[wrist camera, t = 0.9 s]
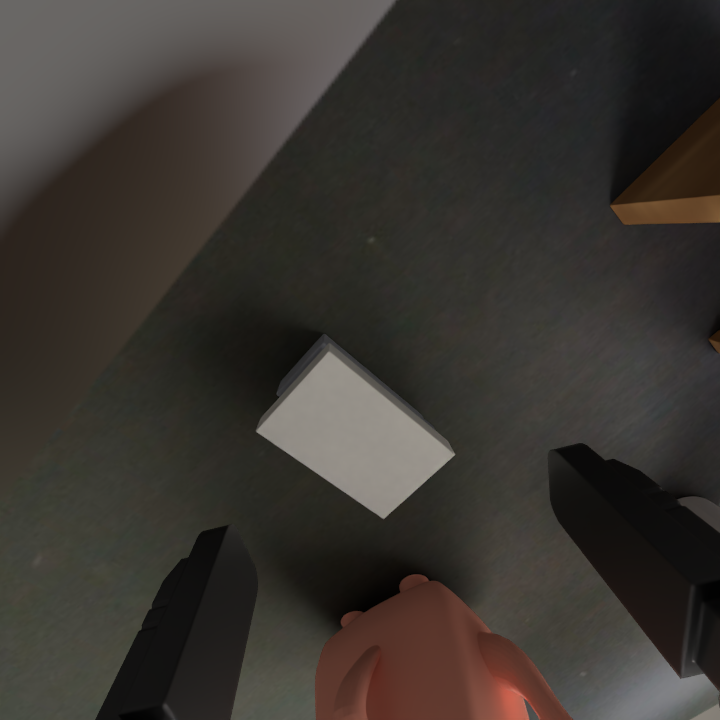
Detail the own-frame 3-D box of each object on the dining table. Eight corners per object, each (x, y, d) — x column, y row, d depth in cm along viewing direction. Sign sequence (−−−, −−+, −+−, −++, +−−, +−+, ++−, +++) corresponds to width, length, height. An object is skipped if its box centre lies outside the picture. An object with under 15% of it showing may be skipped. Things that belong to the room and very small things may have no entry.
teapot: (315, 678, 34) (304, 936, 21) (322, 554, 28) (313, 801, 16) (484, 673, 35) (564, 911, 23) (520, 554, 30) (651, 780, 18)
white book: (260, 418, 20) (254, 431, 18) (329, 342, 18) (328, 350, 17) (380, 502, 22) (383, 519, 21) (447, 440, 21) (455, 454, 20)
